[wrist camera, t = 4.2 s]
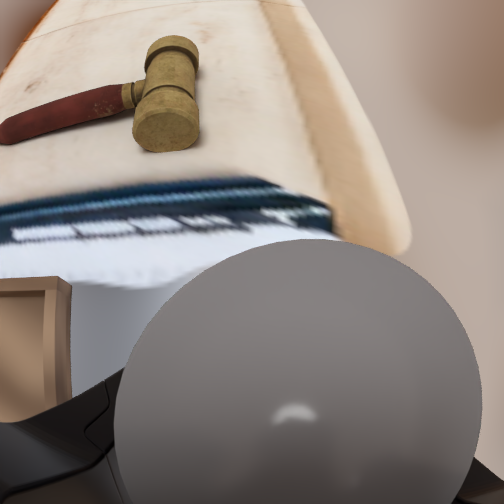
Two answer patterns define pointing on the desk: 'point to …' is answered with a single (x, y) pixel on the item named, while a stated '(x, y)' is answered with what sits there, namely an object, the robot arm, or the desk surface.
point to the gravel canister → (300, 385)
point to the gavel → (130, 102)
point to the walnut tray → (34, 346)
